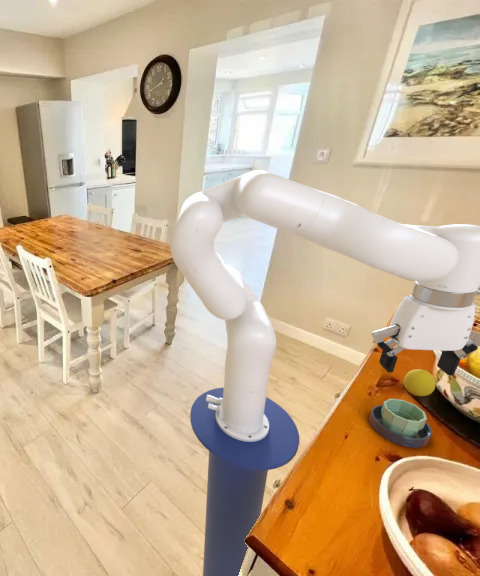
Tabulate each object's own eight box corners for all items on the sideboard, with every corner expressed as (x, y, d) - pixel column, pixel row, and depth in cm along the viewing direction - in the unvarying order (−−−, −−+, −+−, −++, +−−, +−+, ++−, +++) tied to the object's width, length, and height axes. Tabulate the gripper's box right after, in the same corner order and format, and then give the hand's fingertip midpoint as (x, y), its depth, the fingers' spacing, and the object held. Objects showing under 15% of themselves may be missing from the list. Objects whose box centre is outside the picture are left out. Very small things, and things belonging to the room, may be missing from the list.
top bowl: (380, 432, 70) (386, 415, 68) (376, 411, 75) (382, 394, 73) (421, 445, 66) (430, 427, 64) (415, 422, 71) (422, 404, 69)
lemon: (410, 385, 82) (419, 361, 79) (436, 400, 77) (446, 374, 74) (393, 390, 81) (402, 366, 78) (418, 405, 76) (428, 379, 73)
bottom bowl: (371, 436, 70) (373, 428, 69) (367, 406, 77) (369, 399, 76) (433, 455, 64) (437, 447, 63) (422, 421, 72) (426, 414, 71)
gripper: (485, 285, 56) (453, 360, 63) (373, 286, 61) (354, 356, 68) (526, 303, 50) (486, 385, 56) (397, 303, 54) (374, 379, 61)
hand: (414, 369), depth 62 cm, fingers open, 9 cm apart
